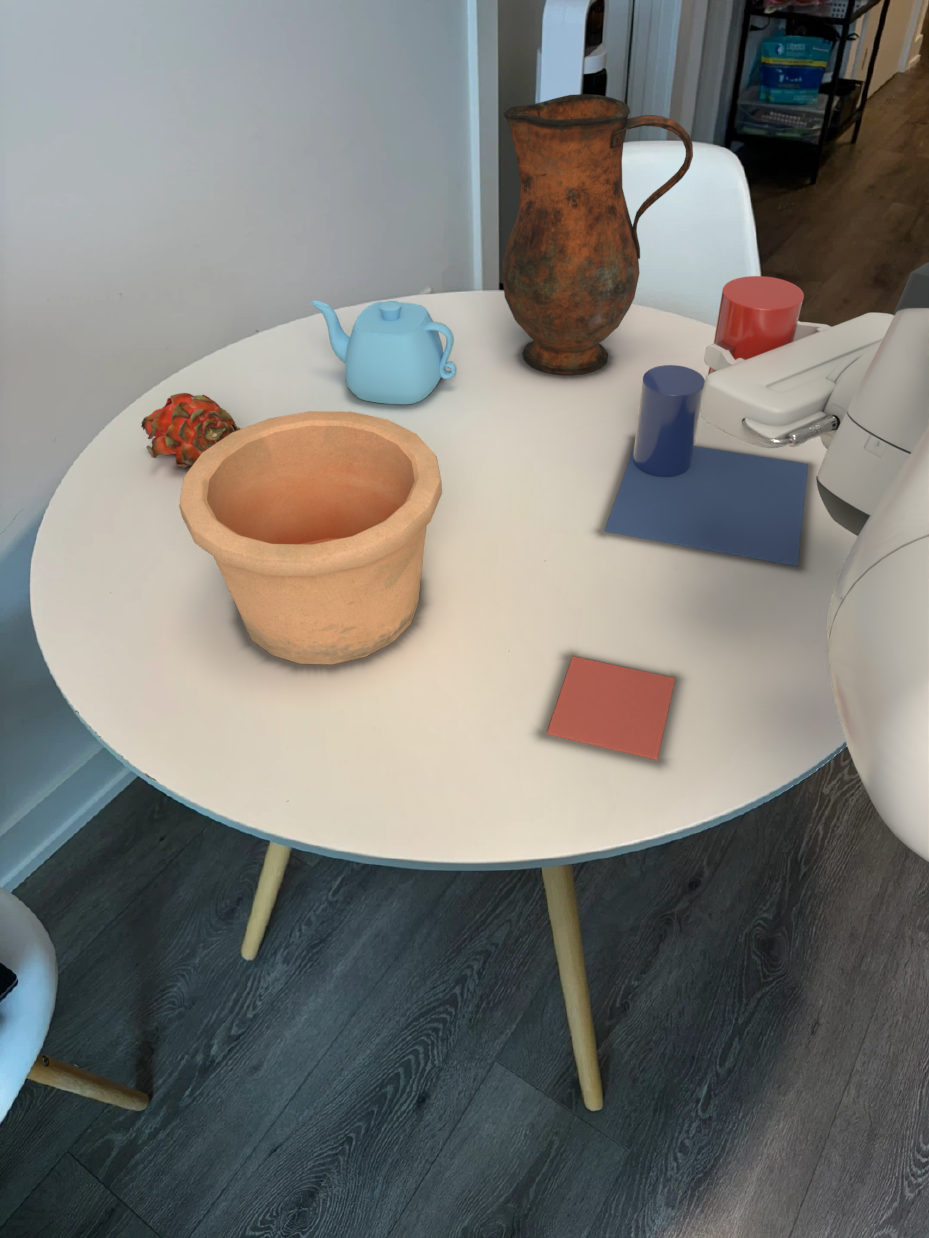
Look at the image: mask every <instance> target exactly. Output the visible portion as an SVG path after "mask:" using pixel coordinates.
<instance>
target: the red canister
mask: <svg viewBox="0 0 929 1238" xmlns="http://www.w3.org/2000/svg"><path fill="white" fill-rule="evenodd" d="M804 299H805V294H804V292H803V290H802V289H801V288H800V287H799V286H798V285H797V284H794V283H793V282H790V281H788V280H785V279H782V278H778V277H772V276H763V275H750V276H741V277H738V278H734V279H732V280H730V281H728V282H726V283H725V284H724V286H723V287H722V290H721V297H720V303H719V308H718V314H717V319H716V320H717V321H716V326H715V331H714V338H713V343H712V344H714V343H717V342H719V341H724V342H726V344H730V345H732V346H734V347H735V349H734V355H733V358H734V359H735V360H736V359H738V358H742V359H744V360H747V359H749V358H752V357H755V356H757V355H760V354H762V353H765V352H768V351H770V350H773V349H776V348H778V347H781V346H783V345H786V344H789V343H791V342H794V337H795V333H796V329H797V325H798V321H800V317H801V311H802V307H803V303H804ZM715 371H716V370H714V369H713V368H711V367H709V366H708V373H707V376H708V375H709V374H710V373H713V372H715Z"/></svg>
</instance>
